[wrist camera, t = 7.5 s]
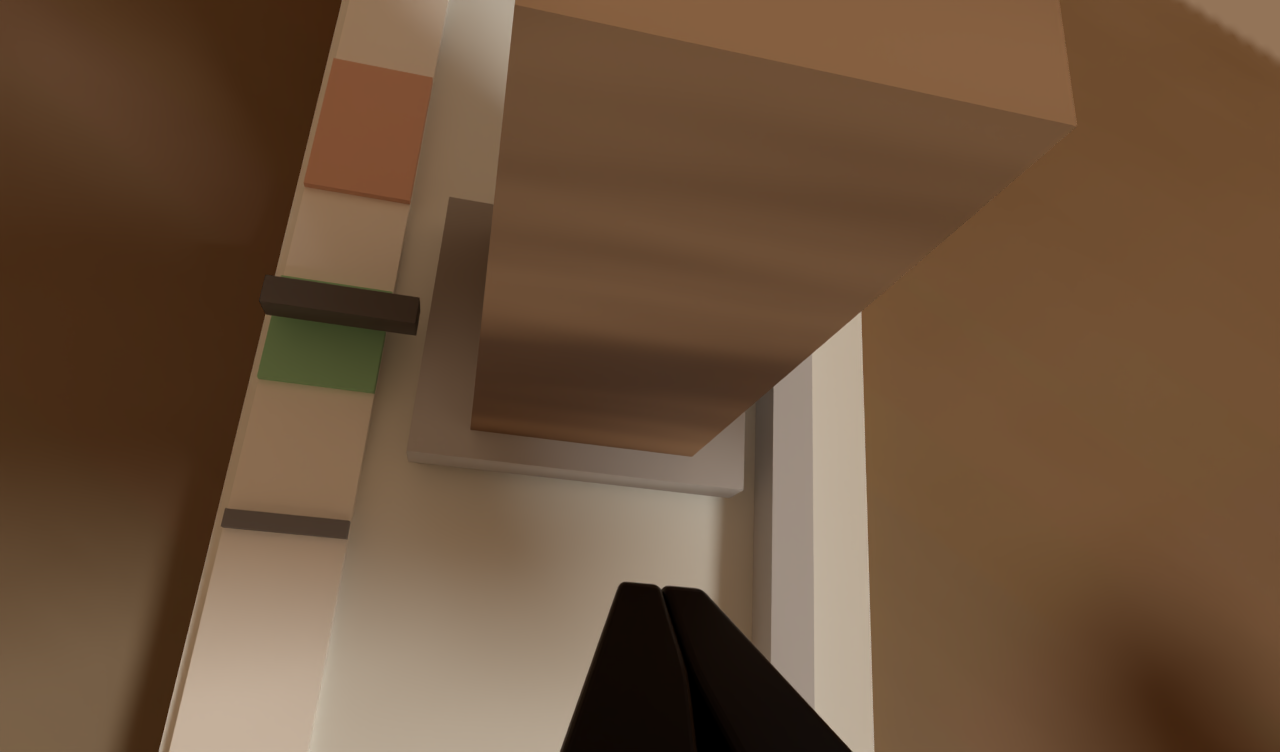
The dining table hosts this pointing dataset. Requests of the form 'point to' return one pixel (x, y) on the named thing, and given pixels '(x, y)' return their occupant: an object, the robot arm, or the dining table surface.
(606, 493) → the gauge board
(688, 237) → the gauge slider
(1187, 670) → the dining table surface
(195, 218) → the dining table surface
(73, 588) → the dining table surface
